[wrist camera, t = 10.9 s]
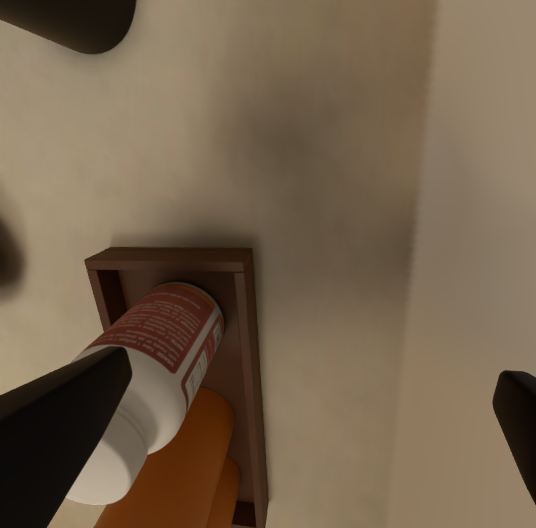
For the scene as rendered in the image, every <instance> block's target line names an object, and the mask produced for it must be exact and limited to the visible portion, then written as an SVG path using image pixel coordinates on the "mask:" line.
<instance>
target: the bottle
mask: <svg viewBox="0 0 536 528" xmlns="http://www.w3.org/2000/svg"><path fill="white" fill-rule="evenodd" d="M234 426H235V414H234V411H233V409H232V407H231V406H230V404H229V403H228V402H227V401H226V400H225V399H224V398H223V397H222V396H221V395H219V394H218V393H216V392H214V391H212V390H209V389H207V388H203V387H199V388H198V390H197V392H196V395H195V397H194V399H193V401H192V403H191V405H190V408H189V410H188V412H187V414H186V416H185V418H184V420H183V422H182V424H181V426H180V428H179V430H178V432H177V434H176V435H175V436H174V437H173V439H172V440H171V441H170V442H169V443H168V444H167V445H165V446H164V447H163V448H161V449H160V450H158V451H156V452H154V453H151V454H148V455H147V458H146V460H145V462H144V465H143V466H142V468H141V470H140V471H139V473H138V475H137V477H136V479H135V481H134V482H133V484H132V486H131V488H130V489H129V491H128V492H127V494H126V495H125V496H124V497H123V498H122V499H120V500H118V501H116V502H114V503H111V504H107V505H106V507H105V509H104V510H103V512H102V514H101V516H100V517H99V519H98V521H97V522H96V524H95V526H94V528H206V524H207V521H208V517H209V514H210V510H211V507H212V503H213V500H214V496H215V493H216V489H217V486H218V482H219V479H220V475H221V472H222V468H223V465H224V461H225V458H226V454H227V451H228V447H229V444H230V440H231V437H232V433H233V430H234Z"/></svg>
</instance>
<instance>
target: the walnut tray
mask: <svg viewBox="0 0 536 528" xmlns="http://www.w3.org/2000/svg"><path fill="white" fill-rule="evenodd" d="M84 261H85V265H86V269H88V270H87V272H88V276H89V279H90V283H91V287H92V290H93V294H94V297H95V301H96V305H97V308H98V312H99V316H100V319H101V323H102V326H103V330H104V332H105V331H106V330H107V329H108V328H109V327H111V326H112V325H113V324H114V323H115V322H116V321H117V320H118V319H120V318H121V317H122V316H123V315H124V314H125V313H126V312H127V311H128V310H130V309H131V308H132V307H133V306H134V305H135V304H136V303H137V302H138V301H140V300H141V299H142V298H143V297H144V296H145V295H146V294H147V293H149V292H150V291H151V290H152V289H154V288H155V287H157V286H159V285H161V284H164V283H168V282H184V283H188V284H191V285H194V286H196V287H198V288H200V289H202V290H203V291H205V292H206V293H208V294H209V295H210V296H211V297H212V298H213V299H214V300H215V302H216V303H217V304H218V306H219V308H220V310H221V312H222V315H223V318H224V332H223V336H222V339H221V341H220V343H219V345H218V347H217V350H216V352H215V354H214V356H213V358H212V360H211V363H210V365H209V367H208V369H207V371H206V373H205V375H204V377H203V379H202V382H201V384H200V386H199V387H203V388H207V389H209V390H212V391H214V392H216V393H218V394H219V395H221V396H222V397H223V398H224V399H225V400H226V401H227V402H228V403H229V404H230V406H231V407H232V409H233V411H234V414H235V426H234V430H233V433H232V437H231V440H230V444H229V447H228V451H227V454H226V456H227V457H229V458H230V459H231V460H232V461H234V463H235V464H236V465H237V466H238V468H239V470H240V473H241V483H240V488H239V492H238V497H237V501H236V506H235V511H234V515H233V520H232V524H231V528H265V525H266V518H267V509H268V488H267V472H266V456H265V440H264V425H263V409H262V393H261V377H260V361H259V345H258V330H257V314H256V298H255V282H254V266H253V251H252V248H108V249H105V250H104V251H102V252H100V253H98V254H96V255H93V256H91V257H89V258H87V259H85V260H84Z"/></svg>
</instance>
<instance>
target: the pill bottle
mask: <svg viewBox="0 0 536 528" xmlns="http://www.w3.org/2000/svg"><path fill="white" fill-rule="evenodd" d="M223 332H224V318H223V315H222V312H221V310H220V308H219V306H218V304H217V303H216V302H215V300H214V299H213V298H212V297H211V296H210V295H209V294H208V293H206V292H205V291H203V290H202V289H200V288H198V287H196V286H194V285H191V284H188V283H184V282H168V283H164V284H161V285H159V286H157V287H155V288H154V289H152V290H151V291H150V292H149V293H147V294H146V295H145V296H144V297H143V298H142V299H141V300H140V301H138V302H137V303H136V304H135V305H134V306H133V307H132V308H131V309H130V310H128V311H127V312H126V313H125V314H124V315H123V316H122V317H121V318H120V319H118V320H117V321H116V322H115V323H114V324H113V325H112V326H111V327H109V328H108V329H107V330H106V331H105V332H104V333H103V334H102V335H100V336H99V337H98V338H97V339H96V340H95V341H94V342H93V343H91V344H90V345H89V346H88V347H87V348H86V349H85V350H84V351H83V352H82V353H80V354H79V355H78V356H77V357H76V358H75V359H74V360H73V361H72V362H75V361H77V360H79V359H81V358H83V357H86V356H88V355H90V354H92V353H94V352H97V351H99V350H101V349H103V348H105V347H108V346H122V347H124V348H125V349H126V350H127V353H128V356H129V360H130V364H131V368H132V379H131V381H130V384H129V386H128V388H127V389H126V391H125V393H124V395H123V397H122V399H121V401H120V403H119V405H118V407H117V409H116V411H115V413H114V415H113V417H112V419H111V421H110V423H109V425H108V427H107V429H106V431H105V433H104V435H103V437H102V438H101V440H100V442H99V443H98V445H97V447H96V448H95V450H94V452H93V453H92V455H91V456H90V458H89V460H88V461H87V463H86V465H85V466H84V468H83V469H82V471H81V473H80V474H79V476H78V478H77V479H76V481H75V482H74V484H73V486H72V487H71V489H70V491H69V492H68V494H67V495H66V497H65V498H67V499H70V500H72V501H75V502H79V503H83V504H89V505H106V504H111V503H114V502H116V501H118V500H120V499H122V498H123V497H124V496H125V495H126V494H127V492H128V491H129V489H130V488H131V486H132V484H133V482H134V481H135V479H136V477H137V475H138V473H139V471H140V470H141V468H142V466H143V465H144V462H145V460H146V458H147V455H148V454H151V453H154V452H156V451H158V450H160V449H161V448H163V447H164V446H165V445H167V444H168V443H169V442H170V441H171V440H172V439H173V437H174V436H175V435H176V434H177V432H178V430H179V428H180V426H181V424H182V422H183V420H184V418H185V416H186V414H187V412H188V410H189V408H190V405H191V403H192V401H193V399H194V397H195V395H196V392H197V390H198V388H199V386H200V384H201V382H202V379H203V377H204V375H205V373H206V371H207V369H208V367H209V365H210V363H211V360H212V358H213V356H214V354H215V352H216V350H217V347H218V345H219V343H220V341H221V339H222V336H223ZM72 362H71V363H72Z"/></svg>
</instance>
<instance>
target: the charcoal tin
mask: <svg viewBox="0 0 536 528" xmlns="http://www.w3.org/2000/svg"><path fill="white" fill-rule="evenodd" d="M134 6H135V0H0V20H2V21H5V22H7V23H10V24H12V25H14V26H17V27H19V28H22V29H24V30H27V31H29V32H31V33H34V34H36V35H39V36H41V37H43V38H46V39H48V40H51V41H53V42H56V43H58V44H60V45H63V46H65V47H68V48H70V49H72V50H75V51H78V52H80V53H85V54H98V53H102V52H105V51H107V50H109V49H111V48H113V47H114V46H115V45H117V44H118V43H119V42H120V40H121V39H122V38H123V37H124V35H125V34H126V32H127V30H128V28H129V26H130V23H131V20H132V17H133V13H134Z"/></svg>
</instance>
